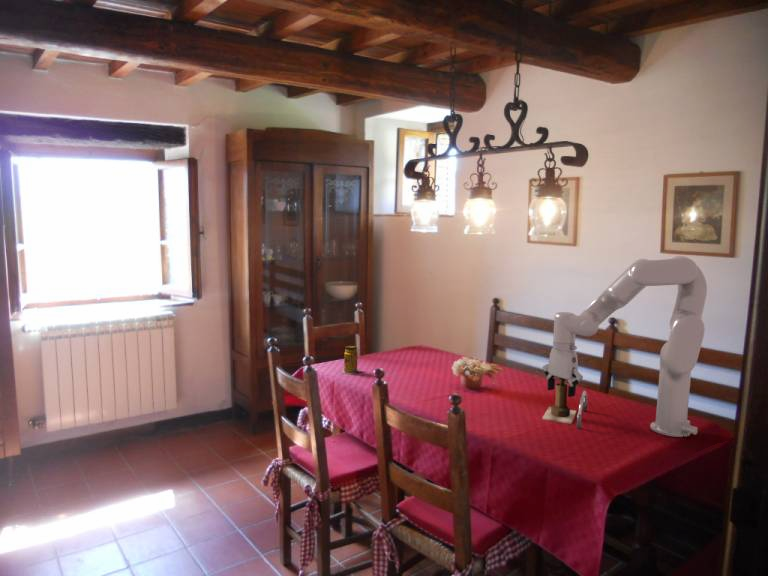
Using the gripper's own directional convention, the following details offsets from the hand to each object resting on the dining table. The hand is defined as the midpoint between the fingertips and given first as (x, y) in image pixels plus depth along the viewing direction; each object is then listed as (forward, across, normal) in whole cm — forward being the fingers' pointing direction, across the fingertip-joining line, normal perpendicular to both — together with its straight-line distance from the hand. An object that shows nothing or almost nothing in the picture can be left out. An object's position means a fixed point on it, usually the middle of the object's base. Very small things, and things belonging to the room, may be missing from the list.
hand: (560, 392), depth 211 cm
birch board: (+9, 0, 0) cm, 9 cm away
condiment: (+9, +90, +35) cm, 97 cm away
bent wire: (+9, -7, -4) cm, 12 cm away
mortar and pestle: (+8, 0, 0) cm, 8 cm away
